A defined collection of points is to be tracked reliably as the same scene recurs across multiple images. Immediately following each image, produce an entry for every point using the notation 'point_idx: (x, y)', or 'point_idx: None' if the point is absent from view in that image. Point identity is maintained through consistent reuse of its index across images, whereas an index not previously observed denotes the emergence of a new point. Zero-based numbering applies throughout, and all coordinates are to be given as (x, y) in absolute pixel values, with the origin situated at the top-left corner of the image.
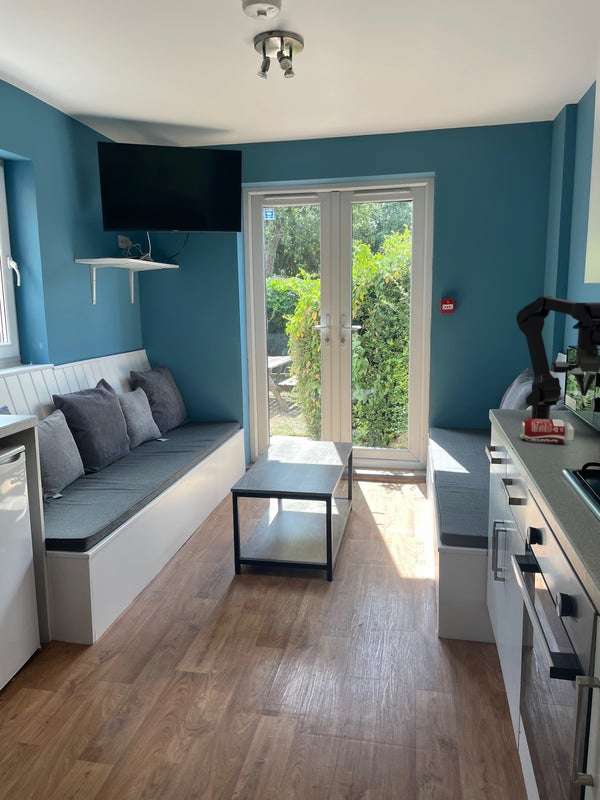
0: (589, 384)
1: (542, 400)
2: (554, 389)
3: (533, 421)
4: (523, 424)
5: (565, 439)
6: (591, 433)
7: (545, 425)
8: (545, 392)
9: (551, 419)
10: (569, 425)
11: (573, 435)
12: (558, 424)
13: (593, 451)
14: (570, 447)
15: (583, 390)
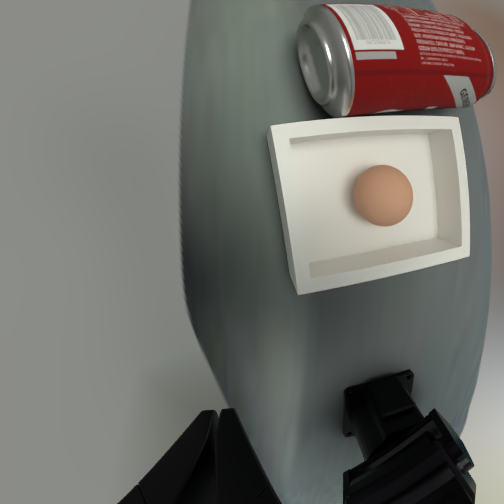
0: (140, 499)
1: (428, 434)
2: (394, 501)
3: (458, 23)
4: (476, 31)
5: (300, 51)
6: (192, 317)
7: (405, 8)
8: (440, 460)
9: (403, 42)
10: (296, 214)
11: (268, 131)
12: (354, 5)
13: (190, 3)
14: (273, 20)
15: (220, 445)
